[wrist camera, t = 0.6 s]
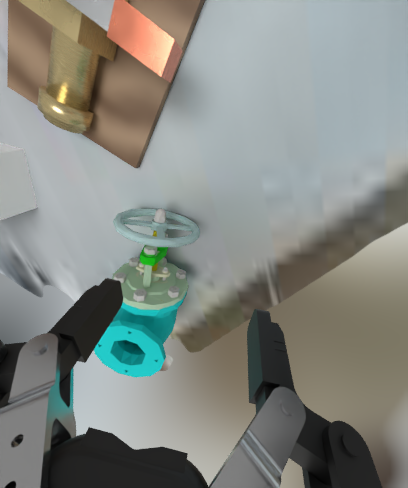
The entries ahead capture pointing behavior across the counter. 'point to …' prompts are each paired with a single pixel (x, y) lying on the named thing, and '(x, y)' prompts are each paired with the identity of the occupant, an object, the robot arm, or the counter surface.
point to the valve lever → (134, 34)
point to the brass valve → (70, 63)
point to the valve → (146, 296)
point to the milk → (15, 182)
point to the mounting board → (105, 74)
